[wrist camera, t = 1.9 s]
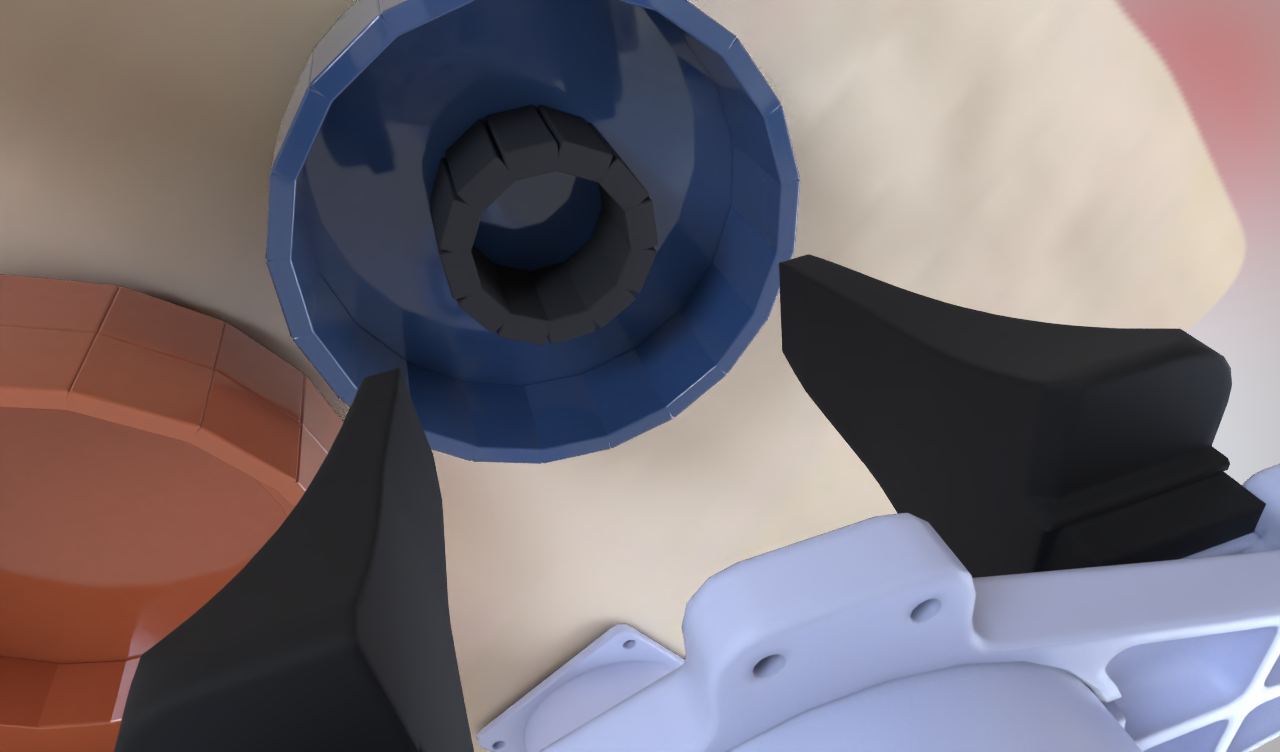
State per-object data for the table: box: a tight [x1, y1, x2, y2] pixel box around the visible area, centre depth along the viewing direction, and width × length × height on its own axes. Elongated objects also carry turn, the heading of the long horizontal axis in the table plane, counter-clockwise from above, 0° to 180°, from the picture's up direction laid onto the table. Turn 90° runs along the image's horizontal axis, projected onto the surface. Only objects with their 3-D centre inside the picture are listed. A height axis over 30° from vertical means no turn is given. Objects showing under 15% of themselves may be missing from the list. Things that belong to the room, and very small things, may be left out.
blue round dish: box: [266, 0, 800, 464], centre depth 20 cm, size 12×12×4 cm
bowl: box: [0, 274, 343, 752], centre depth 21 cm, size 15×15×5 cm
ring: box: [430, 105, 658, 345], centre depth 20 cm, size 5×5×3 cm
